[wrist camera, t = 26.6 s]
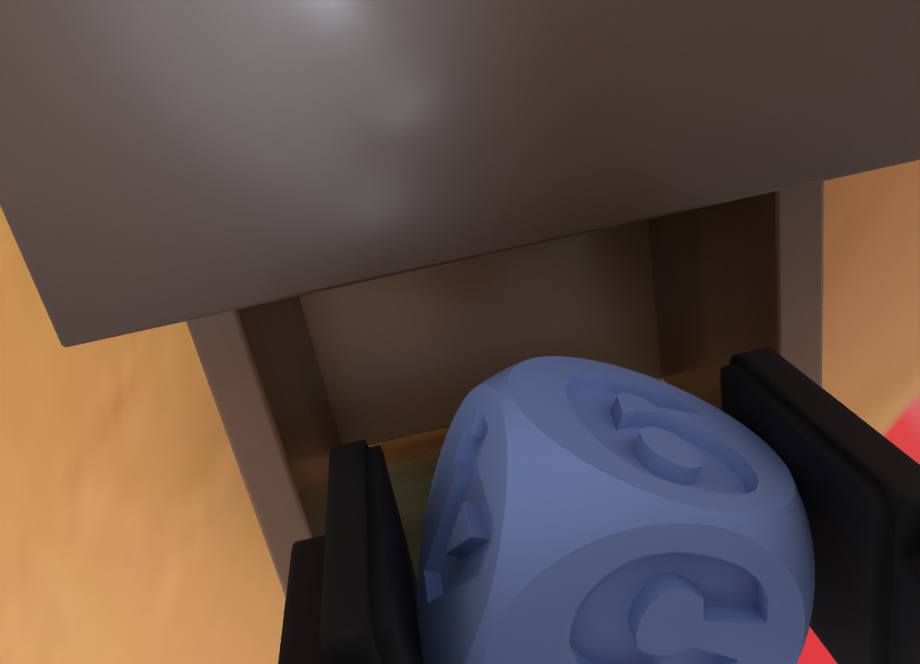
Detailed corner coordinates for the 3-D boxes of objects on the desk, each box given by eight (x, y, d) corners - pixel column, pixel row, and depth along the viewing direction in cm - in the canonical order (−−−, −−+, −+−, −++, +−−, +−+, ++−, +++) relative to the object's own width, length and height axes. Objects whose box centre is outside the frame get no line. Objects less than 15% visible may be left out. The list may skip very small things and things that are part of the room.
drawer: (712, 562, 24) (854, 775, 17) (356, 648, 23) (357, 903, 16) (670, -103, 16) (889, -189, 10) (146, 1, 16) (-4, -14, 9)
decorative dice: (406, 549, 12) (429, 770, 9) (477, 331, 11) (539, 484, 7) (625, 584, 13) (728, 798, 10) (715, 386, 12) (874, 546, 8)
